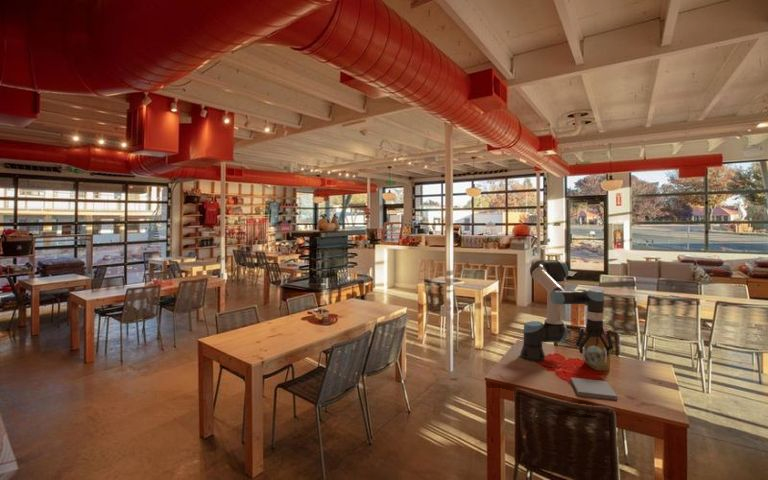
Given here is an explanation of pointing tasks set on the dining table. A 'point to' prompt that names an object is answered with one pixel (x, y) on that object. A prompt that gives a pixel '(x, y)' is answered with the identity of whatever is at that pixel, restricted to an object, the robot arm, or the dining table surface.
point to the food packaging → (597, 342)
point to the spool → (593, 355)
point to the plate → (593, 388)
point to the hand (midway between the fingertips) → (593, 360)
